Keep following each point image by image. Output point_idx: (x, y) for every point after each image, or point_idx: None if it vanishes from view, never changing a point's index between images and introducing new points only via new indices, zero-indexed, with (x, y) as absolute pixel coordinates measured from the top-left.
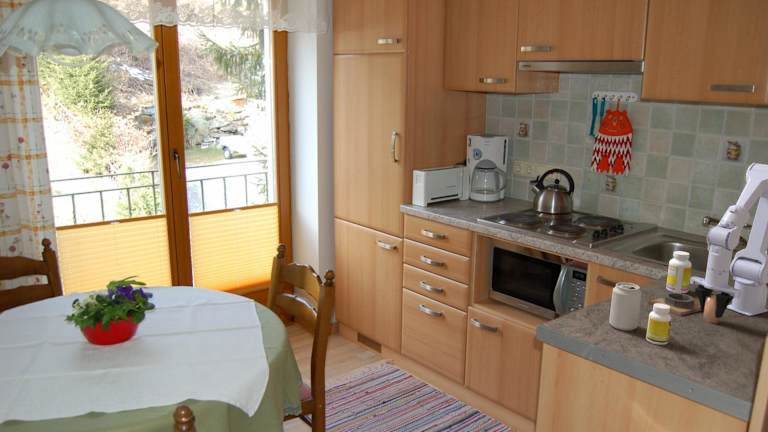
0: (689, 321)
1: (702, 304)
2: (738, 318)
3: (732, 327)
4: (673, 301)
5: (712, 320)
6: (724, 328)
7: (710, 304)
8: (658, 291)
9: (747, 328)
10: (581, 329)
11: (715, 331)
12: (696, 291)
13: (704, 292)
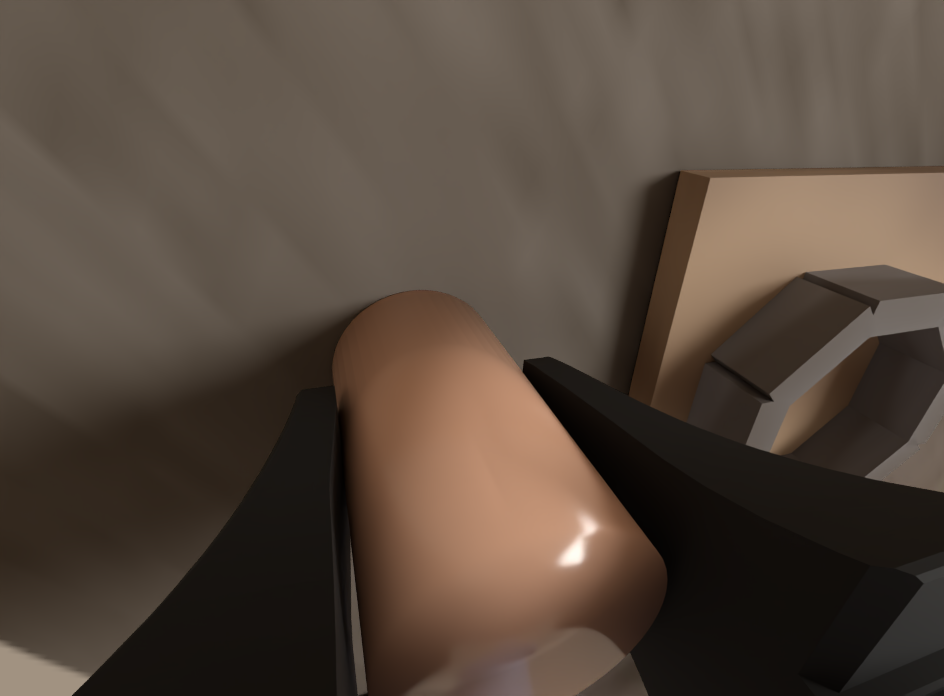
0: (528, 93)
1: (595, 407)
2: (353, 623)
3: (160, 443)
4: (874, 291)
5: (355, 337)
6: (150, 328)
7: (461, 453)
8: (920, 458)
9: (89, 562)
10: None
11: (47, 71)
12: (923, 498)
13: (768, 614)
